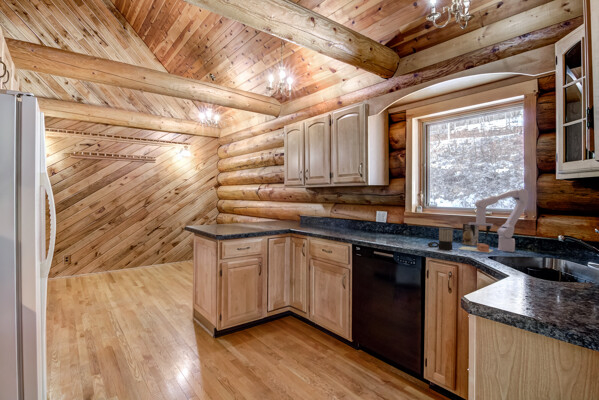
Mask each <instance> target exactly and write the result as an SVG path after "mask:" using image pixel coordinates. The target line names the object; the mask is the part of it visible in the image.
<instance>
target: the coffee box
mask: <svg viewBox="0 0 599 400" xmlns="http://www.w3.org/2000/svg"><path fill="white" fill-rule="evenodd" d="M470 226H471V225H469V223H463V224H462V237H461V238H462V240H461V243H462V245H467V246H470V247H473V246H475V247H477V243H479V229H480V228H479V227H480V226H476V225H475V236H473V231H472V229H471V227H470Z"/></svg>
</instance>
